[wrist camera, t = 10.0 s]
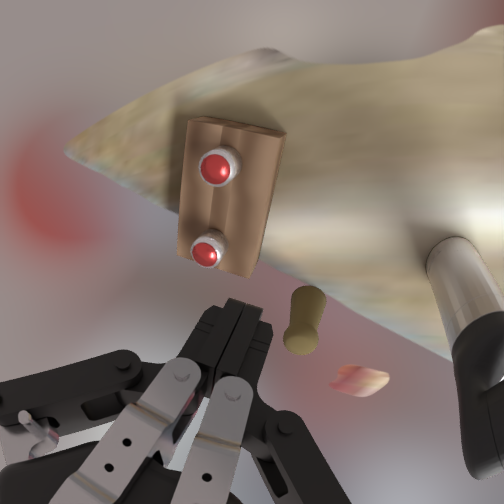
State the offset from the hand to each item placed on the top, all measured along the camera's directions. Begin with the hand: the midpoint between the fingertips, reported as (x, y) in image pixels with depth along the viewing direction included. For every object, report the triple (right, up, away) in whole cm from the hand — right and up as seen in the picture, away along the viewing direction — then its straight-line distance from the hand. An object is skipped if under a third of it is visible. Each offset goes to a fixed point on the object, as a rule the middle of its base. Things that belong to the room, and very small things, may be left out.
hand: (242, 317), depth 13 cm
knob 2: (-4, +6, +33) cm, 33 cm away
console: (-3, +12, +31) cm, 34 cm away
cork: (+10, -5, +38) cm, 39 cm away
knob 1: (-2, +15, +26) cm, 30 cm away
